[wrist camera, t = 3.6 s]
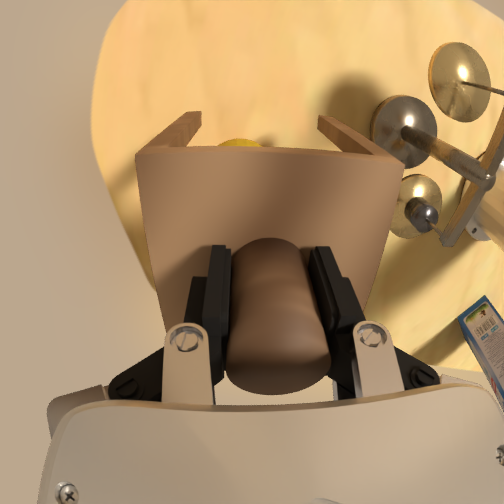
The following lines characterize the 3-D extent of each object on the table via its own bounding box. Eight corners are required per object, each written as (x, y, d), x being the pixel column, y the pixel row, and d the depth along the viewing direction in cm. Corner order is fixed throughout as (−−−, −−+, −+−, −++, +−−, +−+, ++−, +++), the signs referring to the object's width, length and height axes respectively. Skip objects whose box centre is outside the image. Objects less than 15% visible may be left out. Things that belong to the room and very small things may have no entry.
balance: (441, 53, 19) (552, 74, 8) (412, 214, 29) (484, 298, 18) (378, 33, 19) (489, 28, 8) (355, 212, 29) (419, 308, 18)
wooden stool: (332, 116, 19) (483, 231, 6) (316, 238, 25) (374, 419, 12) (186, 111, 19) (67, 222, 6) (193, 236, 24) (153, 425, 11)
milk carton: (489, 320, 43) (537, 401, 26) (465, 339, 45) (508, 423, 28) (484, 294, 38) (544, 387, 22) (456, 317, 40) (511, 415, 24)
